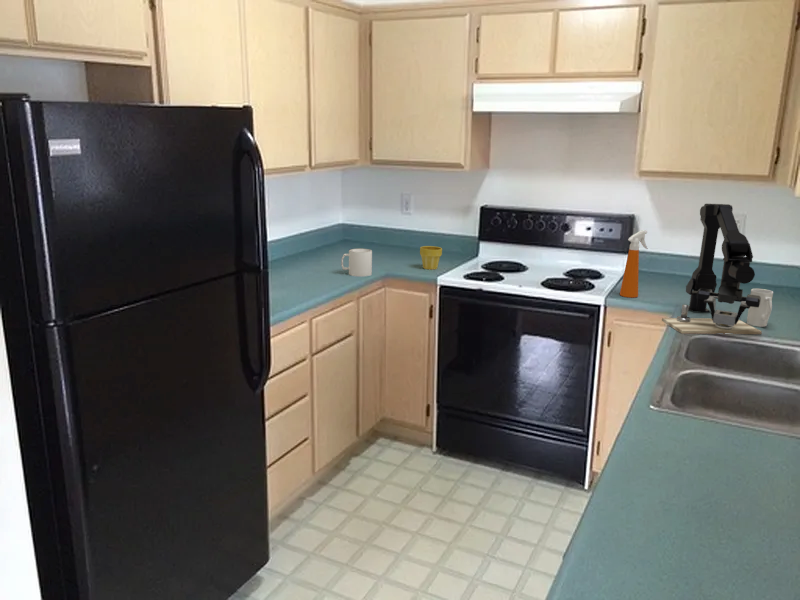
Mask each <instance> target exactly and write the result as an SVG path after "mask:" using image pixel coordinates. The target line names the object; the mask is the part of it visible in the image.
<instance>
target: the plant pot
mask: <svg viewBox="0 0 800 600" xmlns="http://www.w3.org/2000/svg"><path fill="white" fill-rule="evenodd" d="M419 248H420V249H419V254H420V256H421V262H422V268H423V269H425V270H437V269H438V268H439V267H438V266H439V262H440V259H441V256H443V248H442V247H440V246H435V245H434V246H433V245H423V246H420V247H419Z"/></svg>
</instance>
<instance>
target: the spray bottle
mask: <svg viewBox="0 0 800 600" xmlns="http://www.w3.org/2000/svg"><path fill="white" fill-rule="evenodd" d="M647 233H648V230H647V229H646V230H639V231H638V232H635V233H634V234H632V235H630V237H628V239H627V240H628V242H630V244H629V249H628V254H627V258H626V263H625V268H624V271H623V277H622V281H621V287H620V292H619V295H620V296H621V297H624V298H627V299H628V298H629V299H633V298H634V299H635V298H638V297H639V265H640V264H639V263H640V256H639V255H640V253H639V251H640V250H639V249H640V244H639V243H641V245H642V246H643V248H644V249H646V250H648V249H649V248H648V246H647V244H646V241H645V237H646V234H647Z"/></svg>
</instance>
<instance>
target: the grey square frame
mask: <svg viewBox="0 0 800 600" xmlns="http://www.w3.org/2000/svg"><path fill="white" fill-rule="evenodd" d="M725 314H729V315H725ZM737 314H738V312H735V311H727V310H722V309H715V313H714V317H713V323H719V324H725V325H732V326H734V325H735V320H736V317H737Z"/></svg>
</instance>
